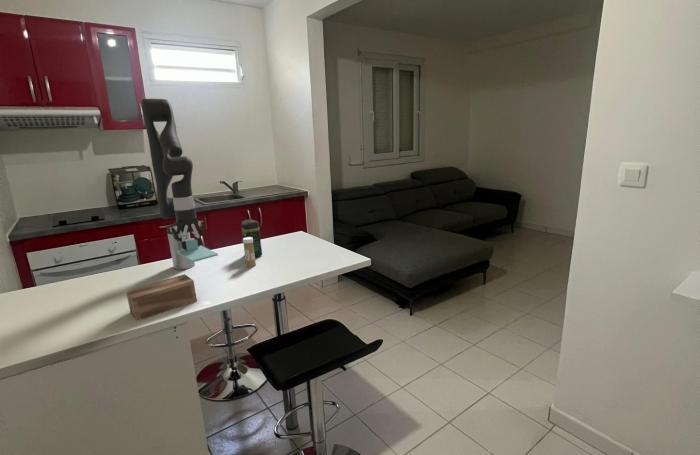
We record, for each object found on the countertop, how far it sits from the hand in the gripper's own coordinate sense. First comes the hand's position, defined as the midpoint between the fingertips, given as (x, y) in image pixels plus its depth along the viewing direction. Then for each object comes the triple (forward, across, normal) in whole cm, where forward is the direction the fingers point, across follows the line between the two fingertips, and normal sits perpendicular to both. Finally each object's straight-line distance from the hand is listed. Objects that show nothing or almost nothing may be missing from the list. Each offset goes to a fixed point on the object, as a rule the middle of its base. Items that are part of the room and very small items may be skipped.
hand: (191, 247), depth 146 cm
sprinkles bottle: (+15, -25, +1) cm, 29 cm away
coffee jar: (+16, -33, -11) cm, 38 cm away
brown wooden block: (+15, +17, +14) cm, 27 cm away
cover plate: (+2, 0, +5) cm, 6 cm away
